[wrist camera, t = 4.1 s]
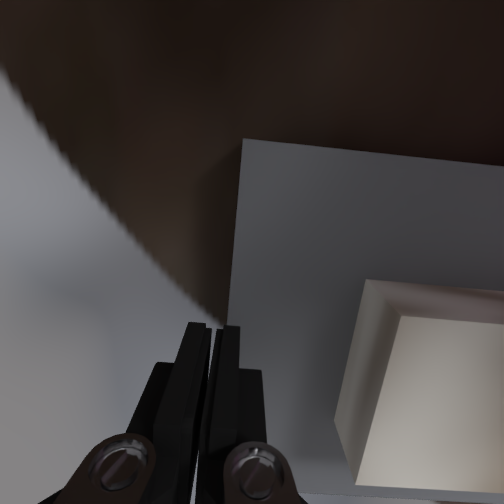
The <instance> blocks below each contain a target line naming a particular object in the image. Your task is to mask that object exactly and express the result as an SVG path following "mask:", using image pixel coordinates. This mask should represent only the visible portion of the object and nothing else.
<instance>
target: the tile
mask: <svg viewBox="0 0 504 504" xmlns="http://www.w3.org/2000/svg"><path fill="white" fill-rule="evenodd" d="M334 422H335V425H336V428H337V431H338V434H339V437H340V440H341V443H342V447H343V450H344V453H345V456H346V459H347V462H348V465H349V468H350V471H351V474H352V477H353V480H354V483H355V485H364V486H381V487H399V488H417V489H434V490H452V491H470V492H487V493H504V291H495V290H483V289H472V288H461V287H450V286H438V285H427V284H416V283H404V282H393V281H382V280H370V279H366V281H365V285H364V289H363V294H362V298H361V303H360V307H359V312H358V316H357V320H356V325H355V329H354V334H353V338H352V343H351V347H350V351H349V356H348V360H347V365H346V369H345V374H344V378H343V382H342V387H341V391H340V396H339V400H338V405H337V409H336V413H335V418H334Z"/></svg>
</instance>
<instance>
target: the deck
mask: <svg viewBox="0 0 504 504" xmlns="http://www.w3.org/2000/svg"><path fill="white" fill-rule="evenodd" d="M366 279H370V280H382V281H393V282H404V283H416V284H427V285H438V286H450V287H461V288H472V289H483V290H495V291H504V167H503V166H493V165H484V164H475V163H466V162H457V161H447V160H438V159H429V158H420V157H410V156H401V155H392V154H383V153H373V152H364V151H355V150H346V149H336V148H327V147H318V146H309V145H299V144H290V143H281V142H272V141H262V140H253V139H244V138H243V145H242V157H241V168H240V180H239V191H238V203H237V214H236V226H235V237H234V249H233V260H232V272H231V283H230V295H229V306H228V318H227V325H232V326H240V356H239V368H245V369H258V370H262V378H263V392H264V406H265V420H266V433H267V444H269V445H272V446H273V447H274V448H276V449H277V450H279V451H280V452H281V453H282V454H283V456H284V457H285V458H286V459H287V461H288V463H289V466H290V468H291V471H292V474H293V478H294V481H295V484H296V488H297V491H298V493H310V494H329V495H346V496H365V497H366V496H367V497H383V498H401V499H419V500H437V501H455V502H474V503H492V504H504V493H487V492H470V491H452V490H434V489H417V488H399V487H381V486H364V485H355V483H354V480H353V477H352V474H351V471H350V468H349V465H348V462H347V459H346V456H345V453H344V450H343V447H342V443H341V440H340V437H339V434H338V431H337V428H336V425H335V422H334V418H335V413H336V409H337V405H338V400H339V396H340V391H341V387H342V382H343V378H344V374H345V369H346V365H347V360H348V356H349V351H350V347H351V343H352V338H353V334H354V329H355V325H356V320H357V316H358V312H359V307H360V303H361V298H362V294H363V289H364V285H365V281H366Z"/></svg>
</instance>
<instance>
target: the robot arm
mask: <svg viewBox="0 0 504 504" xmlns="http://www.w3.org/2000/svg"><path fill="white" fill-rule="evenodd" d="M211 333H212V328H206V323H197V322H189V323H188V325H187V328H186V331H185V334H184V336H183V339H182V342H181V345H180V348H179V351H178V354H177V357H176V360H175V363H167V362H157V363H156V364H155V366H154V368H153V370H152V373H151V375H150V378H149V380H148V382H147V385H146V387H145V389H144V391H143V394H142V396H141V398H140V401H139V403H138V405H137V407H136V410H135V412H134V414H133V417H132V419H131V421H130V424H129V426H128V428H127V430H126V433H124V434H119V435H115V436H112V437H110V438H107V439H105V440H103V441H102V442H101V443H100V444H98V445H96V446H95V447H94V448H93V449H92V450H91V452H89V454H88V455H87V456H86V457H85V459H84V460H83V461H82V463H81V464H80V466H79V467H78V468H77V470H76V471H75V473H74V474H73V476H72V477H71V479H70V480H69V481H68V483H67V484H66V486H65V487H64V488H63V489H61V490H59V491H58V492H56V493H54V494H53V495H51V496H50V497H48V498H46V499H45V500H43V501H41V502H40V503H38V504H190V500H191V494H192V487H193V481H194V475H195V468H196V463H197V456H198V468H197V482H196V496H195V504H308V503H307V502H306V501H305V500H304V499H303V498H301V496H299V494H298V491H297V488H296V484H295V481H294V478H293V474H292V471H291V468H290V466H289V463H288V461H287V459H286V458H285V457H284V456H283V454H282V453H281V452H280V451H279V450H277V449H276V448H274V447H273V446H272V445H269V444H267V433H266V420H265V406H264V392H263V378H262V370H258V369H245V368H239V356H240V326H232V325H224V328H223V329H217V331H216V337H215V343H214V349H213V356H212V361H211V367H210V373H209V360H210V347H211ZM208 373H209V379H208ZM198 450H199V454H198Z"/></svg>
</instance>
